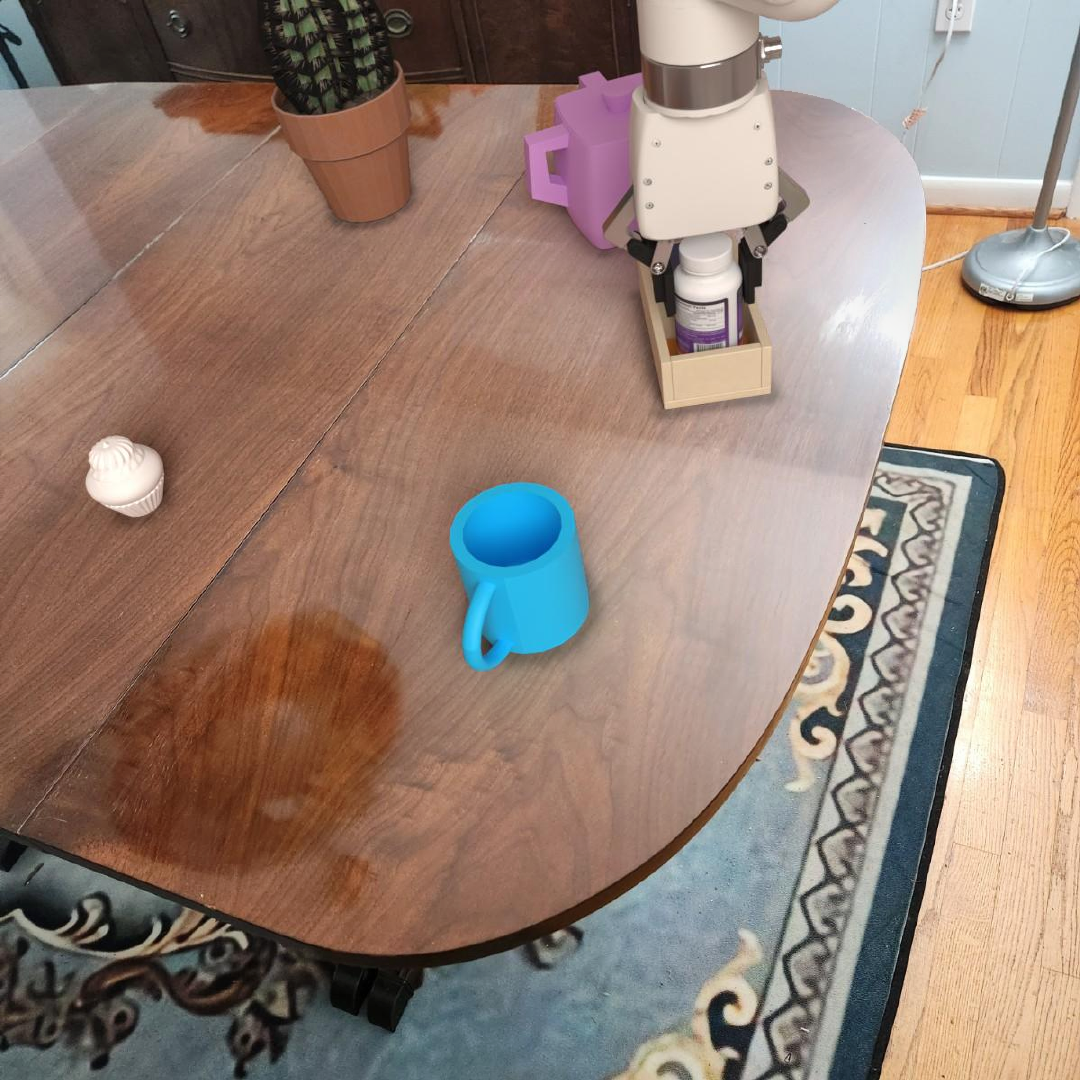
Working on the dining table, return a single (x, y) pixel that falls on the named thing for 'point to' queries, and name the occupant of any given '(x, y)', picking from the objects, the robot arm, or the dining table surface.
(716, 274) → the pill bottle
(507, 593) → the mug
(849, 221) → the dining table surface
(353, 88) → the potted plant
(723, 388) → the sorter
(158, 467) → the muffin
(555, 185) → the teakettle
